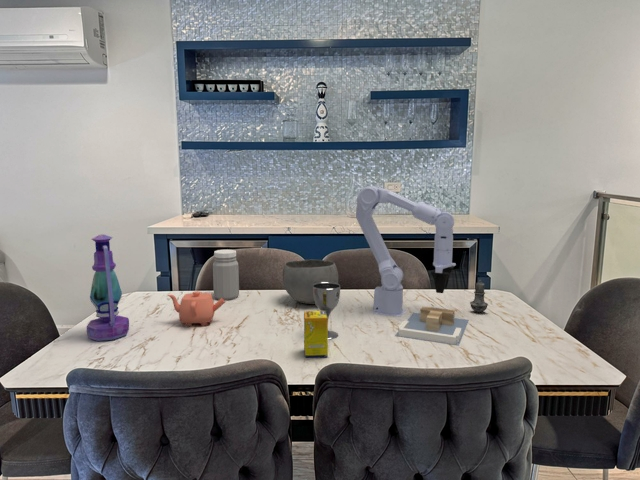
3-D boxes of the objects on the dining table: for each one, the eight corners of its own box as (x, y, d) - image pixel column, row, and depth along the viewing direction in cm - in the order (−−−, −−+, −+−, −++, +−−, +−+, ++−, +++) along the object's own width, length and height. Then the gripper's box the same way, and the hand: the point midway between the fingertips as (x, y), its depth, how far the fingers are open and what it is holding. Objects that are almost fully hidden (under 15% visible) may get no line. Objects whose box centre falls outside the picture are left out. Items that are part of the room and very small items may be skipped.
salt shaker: (488, 317, 150) (490, 281, 148) (470, 315, 151) (472, 281, 149) (486, 311, 156) (488, 277, 154) (468, 310, 157) (470, 277, 155)
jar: (236, 301, 168) (235, 253, 165) (210, 300, 168) (208, 253, 165) (241, 294, 178) (240, 249, 175) (216, 293, 178) (215, 248, 175)
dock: (396, 335, 131) (396, 328, 131) (403, 326, 139) (404, 320, 138) (457, 344, 124) (457, 337, 124) (461, 334, 132) (461, 328, 131)
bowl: (348, 299, 170) (348, 260, 168) (319, 313, 153) (319, 270, 151) (303, 291, 181) (303, 255, 179) (271, 304, 164) (271, 263, 162)
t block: (422, 318, 146) (422, 306, 146) (454, 322, 142) (454, 310, 142) (415, 328, 137) (415, 315, 136) (448, 333, 133) (449, 320, 132)
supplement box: (303, 349, 122) (303, 310, 120) (325, 349, 123) (325, 310, 121) (304, 358, 116) (304, 317, 115) (327, 358, 117) (328, 317, 115)
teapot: (208, 313, 153) (206, 284, 152) (227, 321, 145) (226, 291, 143) (168, 323, 143) (166, 292, 142) (186, 332, 135) (184, 300, 133)
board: (394, 337, 131) (394, 335, 131) (413, 314, 152) (413, 312, 152) (458, 347, 123) (458, 345, 123) (468, 321, 145) (468, 319, 145)
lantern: (82, 333, 134) (74, 233, 130) (123, 325, 141) (117, 230, 137) (92, 346, 124) (83, 238, 119) (136, 337, 131) (129, 235, 126)
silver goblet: (343, 331, 136) (343, 283, 133) (335, 341, 128) (335, 290, 126) (318, 328, 138) (318, 281, 136) (309, 337, 131) (308, 287, 128)
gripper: (452, 253, 137) (450, 297, 139) (459, 246, 150) (457, 286, 152) (429, 252, 140) (427, 294, 142) (437, 245, 153) (436, 284, 155)
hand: (441, 290), depth 147 cm, fingers open, 6 cm apart
